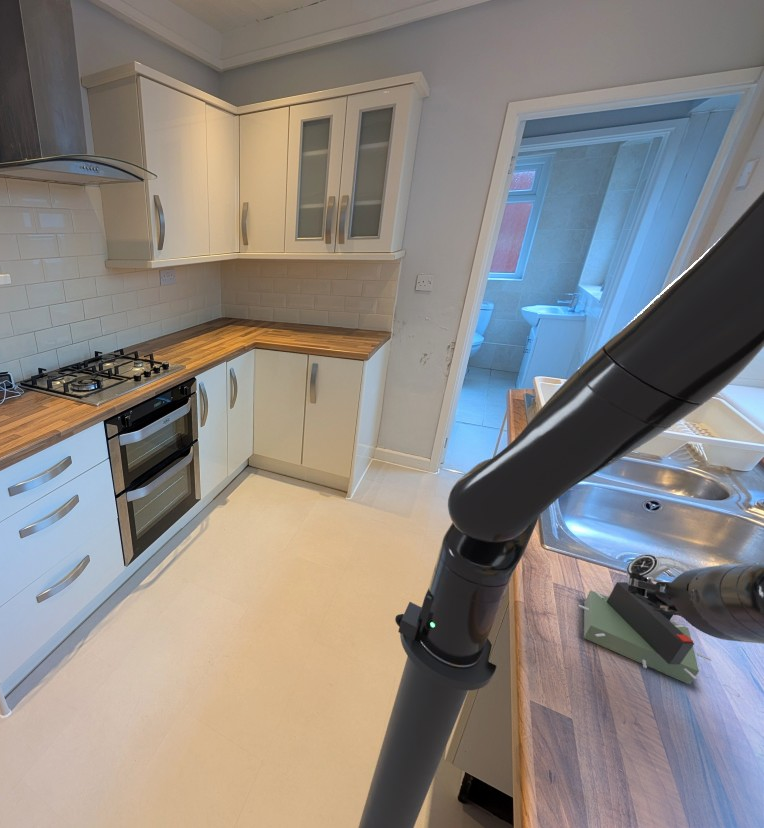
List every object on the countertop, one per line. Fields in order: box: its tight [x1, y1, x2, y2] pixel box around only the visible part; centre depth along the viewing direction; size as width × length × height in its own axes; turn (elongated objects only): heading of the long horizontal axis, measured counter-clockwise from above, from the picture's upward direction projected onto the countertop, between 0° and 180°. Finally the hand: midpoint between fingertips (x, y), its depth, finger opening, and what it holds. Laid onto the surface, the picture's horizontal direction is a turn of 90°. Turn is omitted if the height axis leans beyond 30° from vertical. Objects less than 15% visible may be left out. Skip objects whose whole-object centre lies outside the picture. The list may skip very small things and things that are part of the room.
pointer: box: [607, 581, 695, 664], centre depth 65 cm, size 11×2×5 cm, turn 179°
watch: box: [626, 554, 691, 621], centre depth 71 cm, size 6×8×11 cm
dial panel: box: [577, 589, 712, 685], centre depth 66 cm, size 15×15×3 cm
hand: (660, 604), depth 59 cm, fingers closed
